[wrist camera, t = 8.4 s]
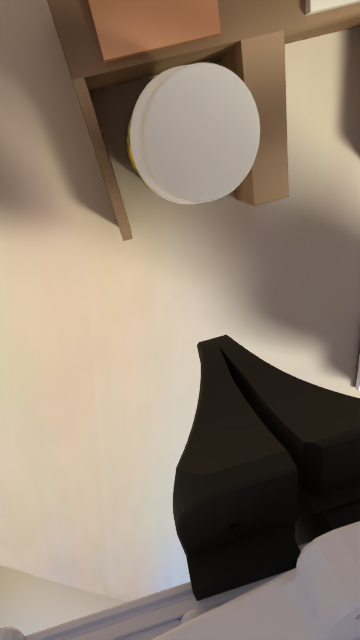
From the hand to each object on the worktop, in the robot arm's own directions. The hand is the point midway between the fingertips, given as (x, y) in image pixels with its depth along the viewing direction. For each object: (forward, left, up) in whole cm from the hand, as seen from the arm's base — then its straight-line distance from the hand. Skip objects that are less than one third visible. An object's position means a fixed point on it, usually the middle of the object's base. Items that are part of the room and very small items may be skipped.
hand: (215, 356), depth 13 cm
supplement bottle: (+8, -1, -10) cm, 13 cm away
